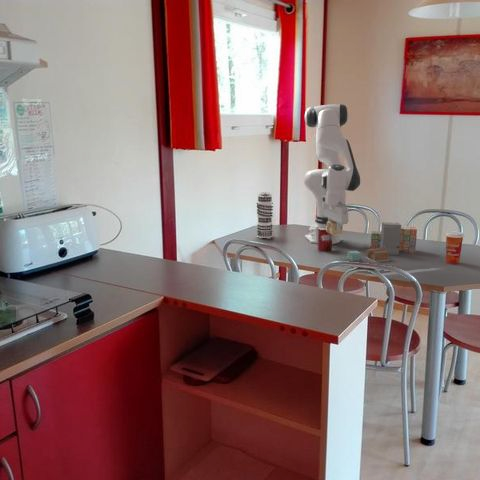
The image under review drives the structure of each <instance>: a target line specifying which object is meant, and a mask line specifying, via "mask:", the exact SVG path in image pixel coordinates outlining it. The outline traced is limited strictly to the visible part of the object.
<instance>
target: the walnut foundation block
mask: <svg viewBox="0 0 480 480" xmlns="http://www.w3.org/2000/svg"><path fill="white" fill-rule="evenodd" d="M366 257H367V258H366V259H368V258H369V259H368V260H370V259H371V260H370V261H372V260H373V261H372V262H374V261H377V262H384V261H383V260H388V261H389V255H388V251H386V250H384V249H381V248H376V249H371V248H369V249H368V248H367V249H366Z"/></svg>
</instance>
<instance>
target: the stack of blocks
mask: <svg viewBox="0 0 480 480" xmlns="http://www.w3.org/2000/svg"><path fill="white" fill-rule="evenodd" d="M417 231H418V229H417V227H415V226H408V225H407V226H405V225H403V226H402V225H401V236H400V248H399V251H403V252H406V253H408V254H416V248H417V247H416V244H417V234H418V233H417ZM380 243H381V230H380V231H379V230H372V231H371V236H370V249H376V248H380Z"/></svg>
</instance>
